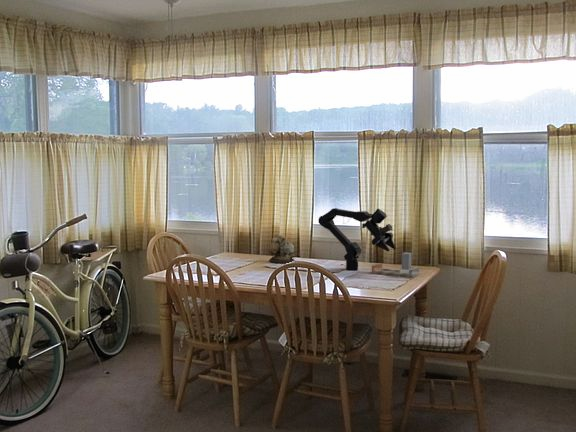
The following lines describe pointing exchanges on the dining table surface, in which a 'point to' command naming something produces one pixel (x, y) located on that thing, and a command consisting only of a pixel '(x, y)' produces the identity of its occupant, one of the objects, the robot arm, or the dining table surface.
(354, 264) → the robot arm
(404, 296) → the dining table surface
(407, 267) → the carriage
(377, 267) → the track
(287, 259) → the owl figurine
